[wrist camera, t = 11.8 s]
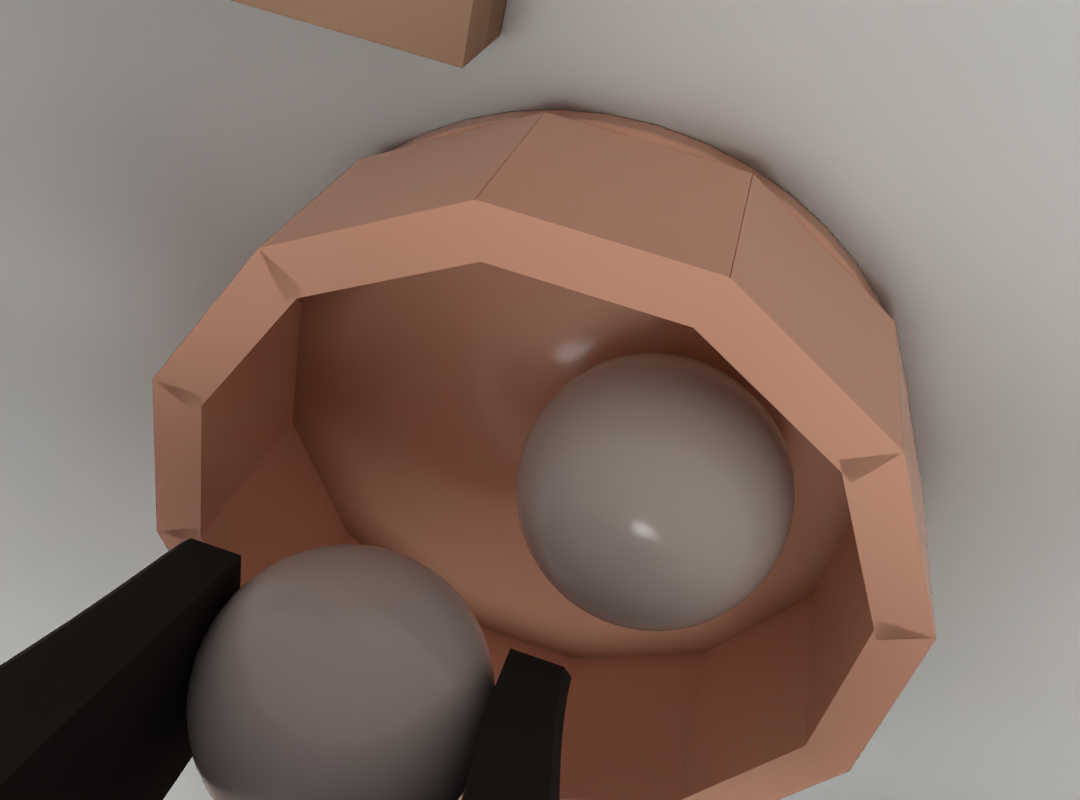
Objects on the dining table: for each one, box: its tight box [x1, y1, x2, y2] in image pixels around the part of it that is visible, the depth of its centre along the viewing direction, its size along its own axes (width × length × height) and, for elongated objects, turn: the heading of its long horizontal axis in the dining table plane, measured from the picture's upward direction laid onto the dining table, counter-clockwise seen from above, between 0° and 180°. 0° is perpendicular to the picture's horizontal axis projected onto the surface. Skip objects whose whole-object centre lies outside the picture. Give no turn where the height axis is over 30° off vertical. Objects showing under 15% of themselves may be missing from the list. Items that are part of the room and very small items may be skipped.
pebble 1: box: [186, 544, 495, 800], centre depth 11 cm, size 3×3×3 cm
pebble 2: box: [516, 353, 795, 631], centre depth 12 cm, size 3×3×3 cm
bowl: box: [153, 110, 936, 800], centre depth 13 cm, size 9×9×3 cm
